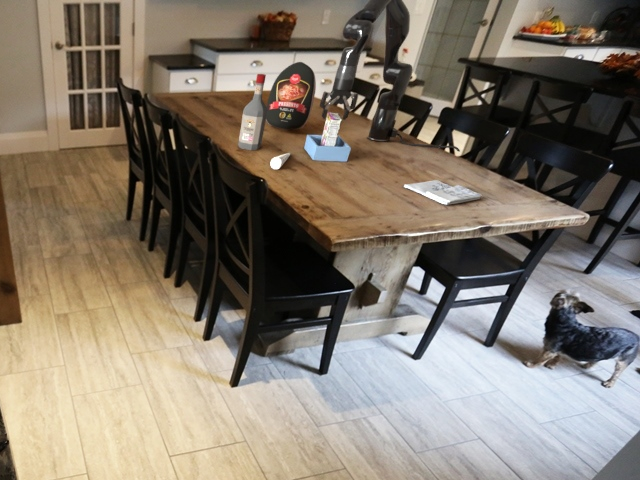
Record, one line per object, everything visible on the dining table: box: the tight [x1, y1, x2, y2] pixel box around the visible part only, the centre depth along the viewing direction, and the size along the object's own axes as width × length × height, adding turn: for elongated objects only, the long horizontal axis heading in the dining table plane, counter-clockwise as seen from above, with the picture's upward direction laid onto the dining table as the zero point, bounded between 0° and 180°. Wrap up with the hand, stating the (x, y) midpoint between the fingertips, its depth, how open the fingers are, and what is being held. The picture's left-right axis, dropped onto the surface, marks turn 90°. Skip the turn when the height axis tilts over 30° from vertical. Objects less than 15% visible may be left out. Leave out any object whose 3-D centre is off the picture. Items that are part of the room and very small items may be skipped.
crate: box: [303, 134, 352, 163], centre depth 220 cm, size 15×18×6 cm
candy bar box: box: [320, 112, 343, 146], centre depth 217 cm, size 11×5×16 cm, turn 168°
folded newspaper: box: [403, 179, 484, 206], centre depth 187 cm, size 19×20×2 cm
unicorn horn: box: [269, 152, 291, 171], centre depth 211 cm, size 5×24×5 cm, turn 147°
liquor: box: [237, 73, 267, 151], centre depth 219 cm, size 9×9×30 cm
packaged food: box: [265, 61, 317, 131], centre depth 246 cm, size 22×20×30 cm
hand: (333, 119), depth 213 cm, fingers open, 8 cm apart
